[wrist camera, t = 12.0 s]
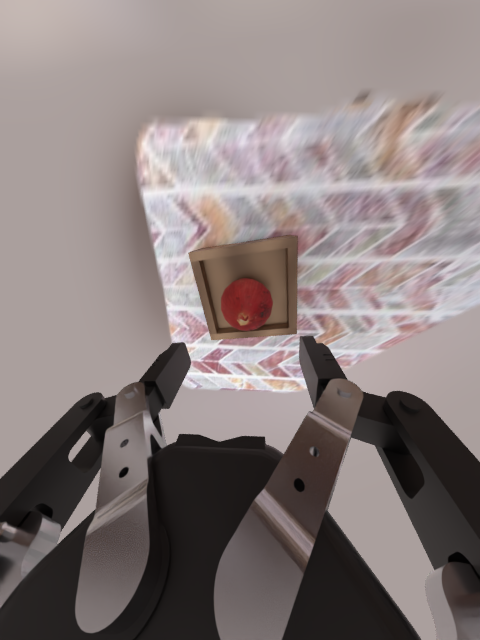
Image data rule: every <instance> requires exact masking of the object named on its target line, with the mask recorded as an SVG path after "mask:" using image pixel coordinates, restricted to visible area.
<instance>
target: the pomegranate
mask: <svg viewBox="0 0 480 640" xmlns="http://www.w3.org/2000/svg"><path fill="white" fill-rule="evenodd" d="M272 306H273V300H272V297H271V294H270V291H269V290H268V289H267V288H266V287H265V286H264V285H263V284H262V283H260V282H258V281H256V280H254V279H248V278H242V279H239V280H236V281H233V282H232V283H231V284H230V285H229V286H228V287H226V288H225V290H224V292H223V295H222V297H221V311H222V313H223V316H224V318H225V320H226V321H227V322H228V323H229V324H230V325H231V326H232V327H234V328H236V329H238V330H243V331H250V330H255V329H257V328H259V327H261V326H262V325H264V324H265V322H266V321H267V319H268V318H269V317H270V315H271V311H272Z"/></svg>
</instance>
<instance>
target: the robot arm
mask: <svg viewBox="0 0 480 640" xmlns="http://www.w3.org/2000/svg"><path fill="white" fill-rule="evenodd" d="M299 360H300V365H301V368H302V372H303V375H304V378H305V381H306V385H307V388H308V391H309V394H310V398H311V400H312V404H313V407H314V410H313V411H312V412H308V413H307V415H306V417H305V418H304V420H303V422H302V424H301V425H300V427H299V429H298V430H297V432H296V434H295V436H294V437H293V439H292V441H291V443H290V444H289V446H288V448H287V450H286V451H285V453H284V454H283V453H281V452H280V451H279V450H277V449H275V448H273V447H271V446H269V445H266V443H265V437H257V436H241V437H237V438H233V439H229V440H225V441H221V442H218V441H215V440H212V439H210V438H207V437H204V436H201V435H193V434H179V436H178V439H177V441H176V442H174V443H172V444H170V445H167V444H166V440H165V435H164V430H163V425H162V419H161V415H160V413H159V412H160V410H161V409H169V408H170V406H171V404H172V402H173V400H174V398H175V396H176V394H177V392H178V390H179V388H180V386H181V384H182V382H183V380H184V378H185V376H186V374H187V372H188V370H189V368H190V365H191V360H190V356H189V354H188V351H187V348H186V345H185V343H183V342H181V343H172V344H171V346H170V347H169V348H168V350H166V351H164V352H163V353H162V354H160V355H159V356H158V358H157V359H156V361H155V362H154V363H153V364H152V366H150V368H149V369H148V370H147V372H146V373H145V374H144V375H143V377H142V378H141V379H140V381H139V382H135V383H131V384H129V385H127V386H126V387H124V388H123V389H122V390H121V391H120V392H119V393H118V394H117V395H115V396H112V397H108V398H104V397H103V395H102V394H101V393H99V392H97V393H92V394H89V395H87V396H85V397H84V398H82V399H81V400H79V401H78V402H77V403H76V404H75V405H74V406H73V407H72V408H71V409H70V410H69V411H68V412H67V413H66V414H65V415H64V416H63V417H62V418H61V419H60V420H59V421H58V422H57V423H56V424H55V425H54V426H53V427H52V428H51V429H50V430H49V431H48V432H47V433H46V434H45V435H44V436H43V437H42V438H41V439H40V440H39V441H38V442H37V443H36V444H35V445H34V446H33V447H32V448H31V449H30V450H29V451H28V452H27V453H26V454H25V455H24V456H23V457H22V458H21V459H20V460H19V461H18V462H17V463H16V464H15V465H14V466H13V467H12V468H11V469H10V470H9V471H8V472H7V473H6V474H5V475H4V476H3V477H2V478H1V479H0V640H421V638H420V637H419V635H418V634H417V632H416V631H415V629H414V628H413V626H412V625H411V624H410V622H409V621H408V620H407V618H406V617H405V615H404V614H403V613H402V611H401V610H400V608H399V607H398V606H397V604H396V603H395V602H394V601H393V599H392V598H391V596H390V595H389V594H388V592H387V591H386V590H385V588H384V587H383V585H382V584H381V583H380V581H379V580H378V579H377V577H376V576H375V575H374V573H373V572H372V570H371V569H370V568H369V566H368V565H367V564H366V562H365V561H364V560H363V558H362V557H361V555H360V554H359V553H358V551H357V550H356V549H355V547H354V546H353V545H352V543H351V542H350V541H349V539H348V538H347V537H346V535H345V534H344V532H343V531H342V530H341V528H340V527H339V526H338V524H337V523H336V522H335V520H334V519H333V517H332V516H331V515H330V513H329V512H328V511H327V510H328V507H329V504H330V501H331V498H332V495H333V492H334V489H335V486H336V482H337V480H338V476H339V473H340V470H341V467H342V464H343V460H344V458H345V455H346V451H347V448H348V445H349V442H350V439H351V437H352V438H355V439H358V440H360V441H363V442H366V443H370V444H372V445H375V447H376V449H377V451H378V453H379V455H380V457H381V459H382V461H383V463H384V465H385V468H386V469H387V472H388V474H389V476H390V478H391V480H392V482H393V484H394V486H395V488H396V490H397V493H398V494H399V497H400V499H401V501H402V503H403V505H404V507H405V509H406V511H407V513H408V516H409V517H410V520H411V522H412V524H413V526H414V528H415V530H416V532H417V534H418V536H419V538H420V540H421V543H422V545H423V547H424V549H425V551H426V553H427V555H428V557H429V559H430V561H431V563H432V566H433V568H434V571H432V572H431V573H429V575H428V576H427V578H426V583H425V590H426V596H427V601H428V604H429V607H430V610H431V613H432V616H433V619H434V623H435V628H436V635H437V640H480V462H479V461H478V459H477V458H476V457H475V456H474V455H473V454H472V453H471V452H470V451H469V450H468V448H467V447H466V446H465V445H464V444H463V443H462V442H461V440H460V439H459V438H458V437H457V436H456V435H455V434H454V433H453V432H452V430H450V428H449V427H448V426H447V425H446V424H445V423H444V421H443V420H442V419H441V418H440V417H439V416H438V415H437V414H436V413H435V411H434V410H433V409H432V408H431V407H430V406H429V405H428V404H427V403H426V402H425V401H423V400H422V399H420V398H418V397H416V396H415V395H412V394H410V393H407V392H402V391H392V392H390V393H389V394H388V395H387V397H382V396H377V395H373V394H369V393H366V392H363V391H362V390H361V389H360V388H359V387H358V386H357V385H356V384H355V383H353V382H351V381H349V380H347V378H346V376H345V374H344V373H343V371H342V369H341V368H340V366H339V364H338V363H337V361H336V360H335V358H334V356H333V355H332V353H331V351H330V349H329V348H328V347H327V346H325V345H324V344H323V343H316V341H315V339H314V337H313V336H301V337H300V347H299ZM85 431H87V432H88V433H89V434H90V435H91V437H90V438H89V440H88V441H87V442H86V444H85V445H84V446H83V447H82V449H81V450H80V451H79V453H78V454H77V455H76V457H75V458H74V459H73V461H72V462H70V461H69V459H68V455H69V452H70V450H71V449H72V447H73V446H74V445H75V444H76V442H77V441H78V440H79V439H80V437H81V436H82V435H83V434H84V432H85ZM100 468H101V471H100V479H99V487H98V494H97V503H96V509H95V510H94V511H93V512H92V513H91V514H90V515H89V516H88V517H87V518H86V519H84V520H83V521H82V522H81V523H80V524H79V525H78V526H77V527H76V528H75V529H74V530H73V531H72V532H71V533H70V534H68V535H67V536H66V537H65V538H64V539H63V540H62V541H61V542H60V543H59V544H57V542H58V540H59V537H60V533H61V531H62V529H63V528H64V526H65V524H66V523H67V521H68V519H69V518H70V516H71V515H72V513H73V511H74V510H75V508H76V507H77V505H78V503H79V502H80V500H81V499H82V497H83V495H84V494H85V492H86V490H87V489H88V487H89V486H90V484H91V482H92V481H93V479H94V478H95V476H96V474H97V473H98V471H99V469H100Z"/></svg>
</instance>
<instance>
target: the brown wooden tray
mask: <svg viewBox="0 0 480 640" xmlns="http://www.w3.org/2000/svg"><path fill="white" fill-rule="evenodd" d="M297 250H298V236H293V235H286V236H280V237H273V238H267V239H260V240H254V241H247V242H241V243H235V244H228V245H222V246H215V247H209V248H202V249H199V250H196V251H192V252H189V253H188V254H189V257H190V261H191V265H192V269H193V272H194V276H195V280H196V284H197V287H198V291H199V295H200V299H201V302H202V306H203V310H204V314H205V318H206V321H207V325H208V329H209V333H210V336H211V340H220V339H234V338H248V337H262V336H276V335H290V334H297ZM242 278H248V279H254V280H256V281H258V282H260V283H262V284H263V285H264V286H265V287H266V288H267V289H268V290H269V291H270V294H271V297H272V300H273V306H272V311H271V315H270V317H269V318H268V319H267V321H266V322H265V324H264V325H262V326H261V327H259V328H257V329H255V330H250V331H243V330H238V329H236V328H234V327H232V326H231V325H230V324H229V323H228V322H227V321H226V320H225V318H224V316H223V313H222V311H221V297H222V295H223V292H224V290H225V288H226V287H228V286H229V285H230V284H231V283H232V282H233V281H236V280H239V279H242Z"/></svg>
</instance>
